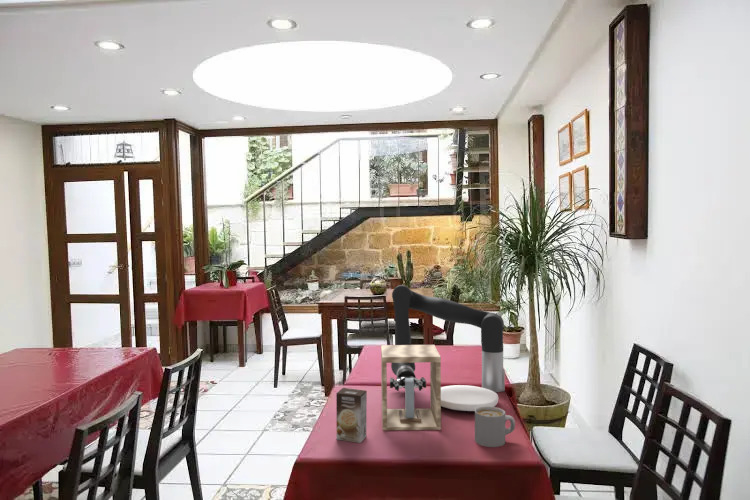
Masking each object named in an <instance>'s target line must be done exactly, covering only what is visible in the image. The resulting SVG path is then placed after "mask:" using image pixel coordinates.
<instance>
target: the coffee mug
mask: <svg viewBox="0 0 750 500" xmlns="http://www.w3.org/2000/svg"><path fill="white" fill-rule="evenodd" d="M507 421H509V422H510V426H509V428H507V427H506V423H507ZM515 428H516V421H515V419H514V417H513V416H511V415H507V414H506V411H505V410H504V409H503V408H500V407H496V406H494V407H479V408H477V409H475V411H474V442H475V443H476V444H478V445H479V446H482V447H485V448H486V447H488V448H498V447H499V448H500V447H502V446H504V445H505V444H506V436H507V435H510V434H511V433H513V432H514V431H515Z"/></svg>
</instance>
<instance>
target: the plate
mask: <svg viewBox="0 0 750 500" xmlns="http://www.w3.org/2000/svg"><path fill="white" fill-rule="evenodd" d="M498 402H499V395H498V393H497V392H493V391H491V390H489V389H485V388H482V386H481V387H480V386H476V385H466V384H465V385H463V384H462V385H461V384H457V385H455V384H453V385H445V386H441V407H443V408H446V409H450V410H453V411H461V412H462V411H463V412H466V411H467V412H475V409H477V408H479V407H496V406H497V404H498Z"/></svg>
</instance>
